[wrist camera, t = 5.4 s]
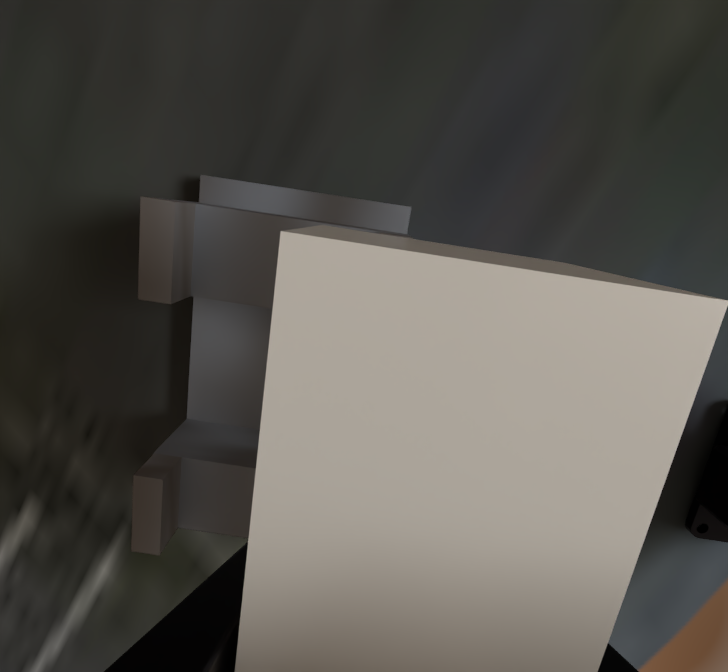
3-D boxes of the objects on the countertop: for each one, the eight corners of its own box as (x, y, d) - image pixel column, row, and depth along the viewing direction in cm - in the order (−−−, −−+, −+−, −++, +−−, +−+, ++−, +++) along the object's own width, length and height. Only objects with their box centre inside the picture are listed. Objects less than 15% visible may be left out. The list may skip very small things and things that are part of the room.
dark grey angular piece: (409, 207, 18) (422, 202, 13) (358, 513, 22) (352, 608, 16) (210, 177, 18) (139, 159, 13) (190, 487, 22) (129, 574, 16)
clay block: (565, 263, 8) (729, 300, 5) (440, 744, 11) (475, 1015, 8) (322, 225, 8) (280, 231, 4) (260, 721, 11) (201, 982, 7)
